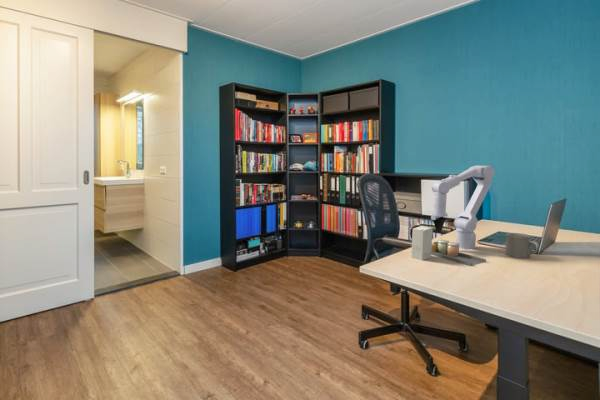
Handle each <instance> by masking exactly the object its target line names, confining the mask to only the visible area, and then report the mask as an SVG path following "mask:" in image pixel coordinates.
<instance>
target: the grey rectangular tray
mask: <svg viewBox="0 0 600 400" xmlns="http://www.w3.org/2000/svg"><path fill="white" fill-rule="evenodd" d="M431 256H434V257H436V258H437V257H438V258H440V259H445V260H449V261H451V262H454V263H458V264H462V265H464V266H468V267H471V266H476V265H481V264H484V263H487V259H486V258H482V257H479V256H475V255H471V254H469V253H468V254H467V253H464V252H460V251H459V256H458V257H451V256H448V255H447V254H440V253H438V252H433V251H431Z"/></svg>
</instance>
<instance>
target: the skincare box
mask: <svg viewBox="0 0 600 400" xmlns="http://www.w3.org/2000/svg"><path fill="white" fill-rule="evenodd" d="M411 234H412V237H411V252H410V253H411V254H410V255H411V256H410V258H411V259H415V260H419V261H425V260H428V259H430V258H432V255H431V251H432V244H433V227H430V226H425V225H420V226H417V227H414V228H412V232H411Z"/></svg>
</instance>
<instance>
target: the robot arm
mask: <svg viewBox="0 0 600 400" xmlns="http://www.w3.org/2000/svg"><path fill="white" fill-rule="evenodd" d="M494 176H495V170H494V167H493V166H492V165H478V164H477V165H475V164H474V165H473V166H470V167H469V168H468V169H466V170H464V171H463V172H461V173H459V174H457V175H456V174H450V175H448V177H446V178H443V179H441V180H440V181H435V182H434V183H433V185H432V186H431V191H432V192H433V213H432V215H431V216H430V221H432V223H433V224H434V228H435V233H442V230H443V227H444V224H445V223H446V221H447V218H446V217H449V215H448V212H447V195H448V193H449V192H450V190H452V189H454V188H455V187H458V186H459V185H460V184H461V182H462V181H464V180H467V179H469V178H472V179H473V180H474V181H475V182H476V184H477V185H476V188H475V190H474V191H473V194H472V196H471V197H470V200H469V201H468V203H467V205H466V208H465V210H464V211H463V212H461V213H459V215H458V216H457V217H456V218H455V219H454V221H453V226H454V228H455V230H456V235H455V236H456V241H455V243H459V244H460V245H459V250H460V249H461V250H464V251H468V250H474V249H478V248H477V246H476V243H477V242H476V239H477V235H476V233H475V230H476V228H477V223H478V221H479V220H478V218H477V217H476V215H477V214H478V211H479V210H480V207H481V206H482V204H483V202H484V200H485V197H486V196H487V193H488V192H489V189H490V188H491V186H492V180H493V178H494Z"/></svg>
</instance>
